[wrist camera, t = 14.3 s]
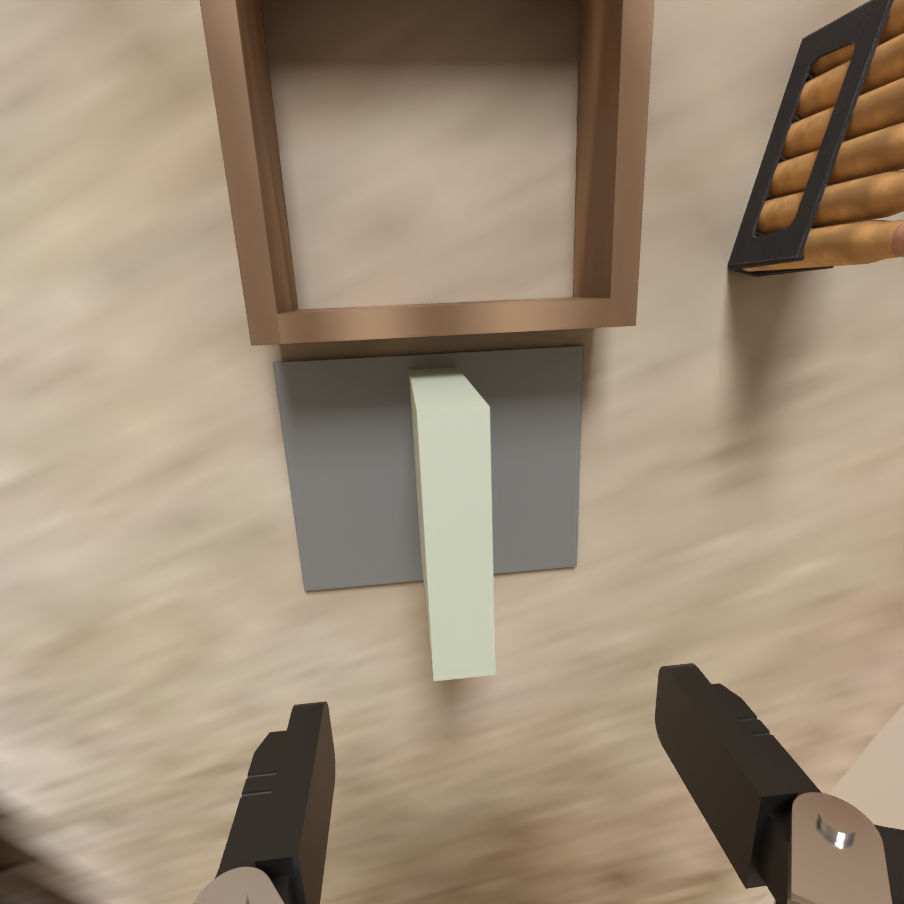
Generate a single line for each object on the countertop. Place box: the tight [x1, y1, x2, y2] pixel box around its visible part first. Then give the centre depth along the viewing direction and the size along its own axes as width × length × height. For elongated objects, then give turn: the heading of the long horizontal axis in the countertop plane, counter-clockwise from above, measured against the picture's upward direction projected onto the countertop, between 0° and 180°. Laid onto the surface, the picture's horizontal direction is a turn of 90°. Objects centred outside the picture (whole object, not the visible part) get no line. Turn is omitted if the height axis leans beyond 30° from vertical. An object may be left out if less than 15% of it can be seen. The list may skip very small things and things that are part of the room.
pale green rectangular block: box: [409, 367, 495, 681], centre depth 25 cm, size 2×11×10 cm, turn 2°
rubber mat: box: [273, 346, 583, 591], centre depth 30 cm, size 16×13×1 cm
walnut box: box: [200, 0, 654, 346], centre depth 23 cm, size 16×16×5 cm
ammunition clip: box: [728, 0, 904, 277], centre depth 21 cm, size 11×2×12 cm, turn 168°
